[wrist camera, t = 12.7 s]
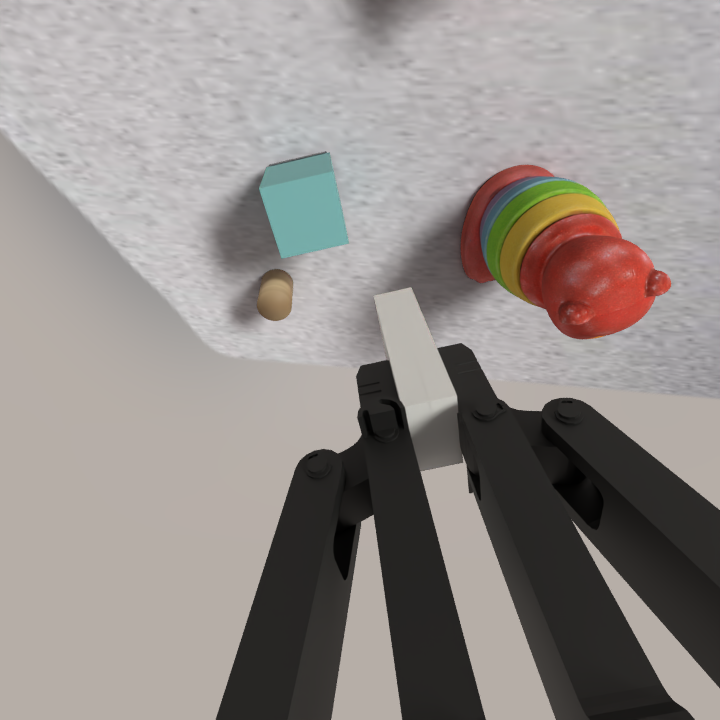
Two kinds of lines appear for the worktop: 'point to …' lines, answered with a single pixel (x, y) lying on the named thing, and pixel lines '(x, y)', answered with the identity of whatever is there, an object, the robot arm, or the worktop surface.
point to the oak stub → (275, 295)
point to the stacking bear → (558, 252)
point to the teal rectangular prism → (304, 205)
